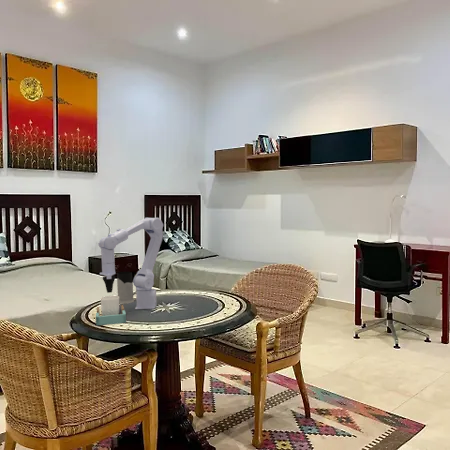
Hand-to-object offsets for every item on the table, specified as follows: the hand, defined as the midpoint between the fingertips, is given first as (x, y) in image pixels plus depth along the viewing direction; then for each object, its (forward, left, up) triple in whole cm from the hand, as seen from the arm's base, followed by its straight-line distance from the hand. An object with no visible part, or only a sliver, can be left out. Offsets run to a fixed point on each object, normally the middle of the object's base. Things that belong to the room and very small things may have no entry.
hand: (109, 292), depth 204 cm
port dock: (-3, +12, -10) cm, 16 cm away
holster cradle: (0, -1, -10) cm, 10 cm away
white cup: (-3, +10, -11) cm, 15 cm away
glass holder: (-4, -28, -11) cm, 30 cm away
